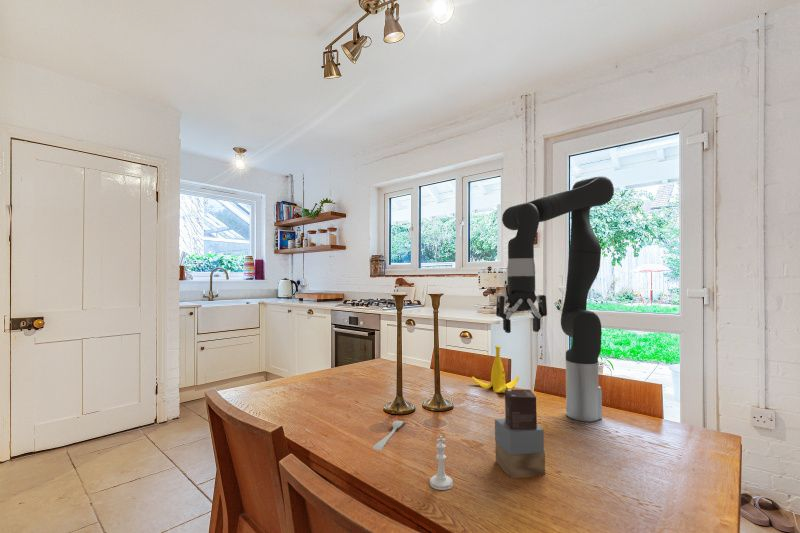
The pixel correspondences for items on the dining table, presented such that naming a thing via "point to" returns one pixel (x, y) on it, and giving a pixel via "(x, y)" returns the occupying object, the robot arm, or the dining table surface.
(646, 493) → the dining table surface
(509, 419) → the box
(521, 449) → the tower top
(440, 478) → the chess piece
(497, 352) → the banana peel
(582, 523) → the dining table surface
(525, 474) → the tower bottom
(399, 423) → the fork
